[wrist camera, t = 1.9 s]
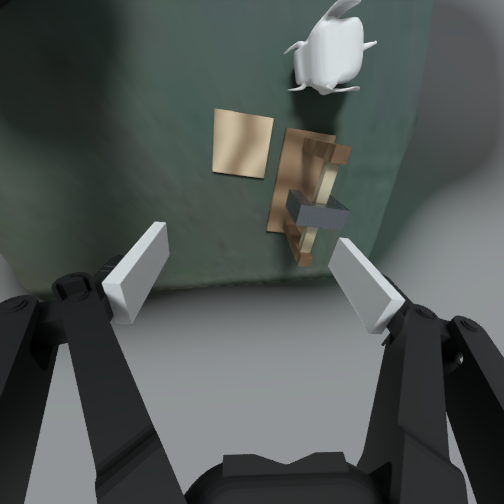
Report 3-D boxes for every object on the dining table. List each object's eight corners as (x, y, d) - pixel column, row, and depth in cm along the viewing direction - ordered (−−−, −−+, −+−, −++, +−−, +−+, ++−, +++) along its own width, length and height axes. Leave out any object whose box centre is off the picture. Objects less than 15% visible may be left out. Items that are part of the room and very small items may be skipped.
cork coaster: (212, 170, 40) (212, 171, 39) (215, 108, 35) (214, 108, 34) (263, 177, 41) (263, 178, 40) (273, 118, 36) (273, 118, 35)
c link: (285, 205, 36) (295, 225, 29) (289, 188, 34) (301, 204, 27) (323, 210, 37) (342, 230, 30) (328, 193, 35) (350, 210, 28)
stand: (303, 232, 48) (327, 273, 35) (266, 228, 47) (276, 269, 34) (333, 135, 38) (382, 142, 25) (285, 127, 37) (310, 130, 24)
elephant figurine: (277, 34, 30) (289, 5, 23) (360, 8, 29) (401, -31, 22) (286, 111, 35) (299, 108, 28) (357, 91, 34) (390, 82, 27)
